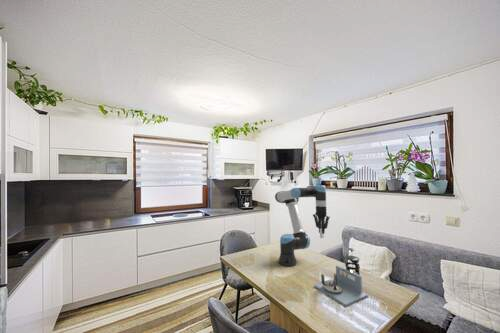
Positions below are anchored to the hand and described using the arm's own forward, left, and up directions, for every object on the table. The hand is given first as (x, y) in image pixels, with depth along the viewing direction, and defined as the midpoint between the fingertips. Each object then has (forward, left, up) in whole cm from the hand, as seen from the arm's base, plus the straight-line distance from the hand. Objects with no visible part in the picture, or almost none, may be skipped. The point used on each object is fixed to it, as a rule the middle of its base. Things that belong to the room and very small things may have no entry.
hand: (321, 237), depth 149 cm
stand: (+19, -6, -28) cm, 35 cm away
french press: (+16, +12, -29) cm, 35 cm away
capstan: (+16, -9, -27) cm, 33 cm away
